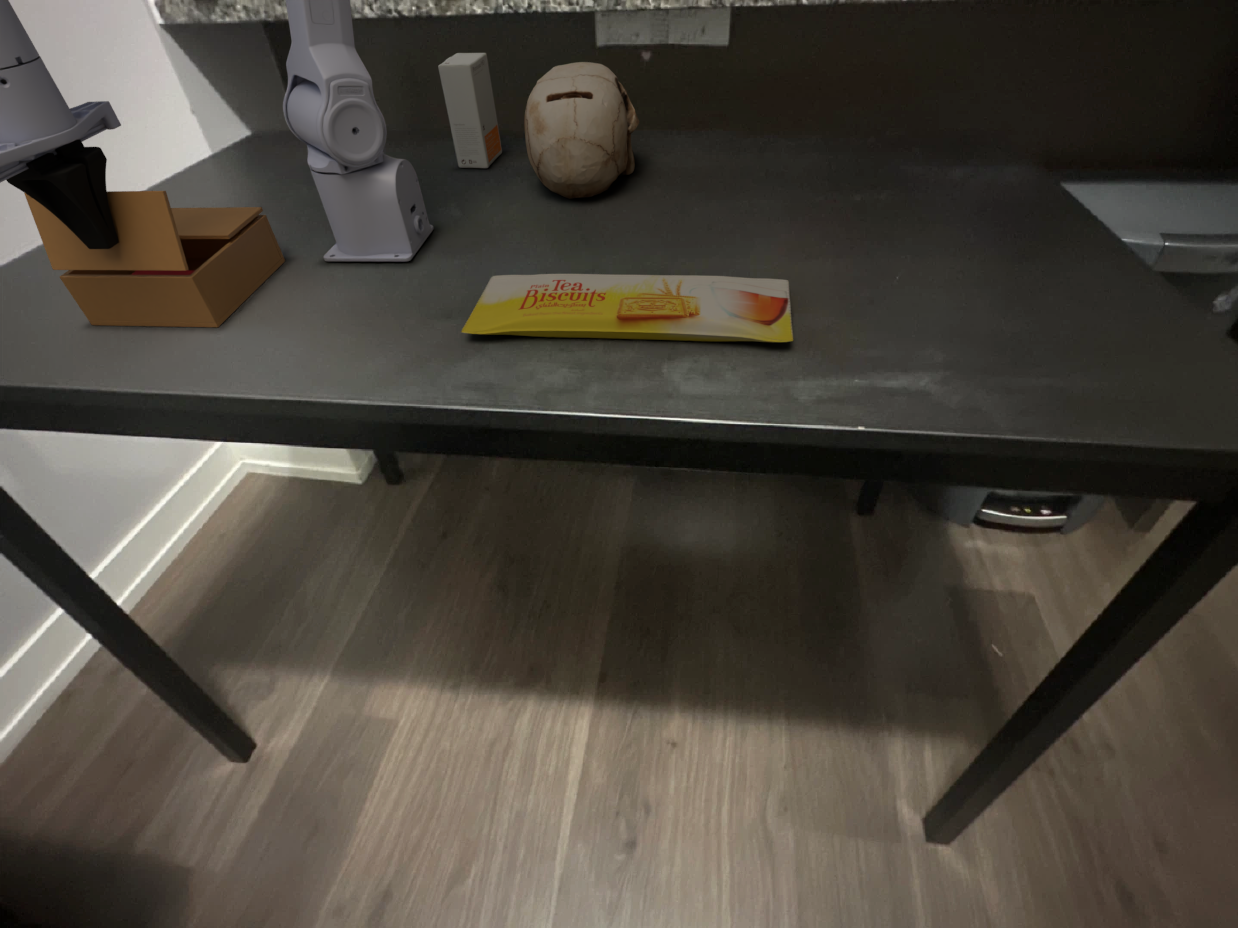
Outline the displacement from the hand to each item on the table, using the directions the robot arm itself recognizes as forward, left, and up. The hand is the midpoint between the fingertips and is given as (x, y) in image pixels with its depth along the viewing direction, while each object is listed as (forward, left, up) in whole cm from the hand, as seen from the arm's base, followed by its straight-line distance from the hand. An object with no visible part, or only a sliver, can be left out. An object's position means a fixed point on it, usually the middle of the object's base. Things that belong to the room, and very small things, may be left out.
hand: (104, 245), depth 58 cm
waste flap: (0, -1, +1) cm, 1 cm away
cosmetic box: (-20, -42, -8) cm, 47 cm away
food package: (-44, -3, -8) cm, 45 cm away
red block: (0, -3, -8) cm, 8 cm away
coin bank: (-35, -36, -8) cm, 51 cm away
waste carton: (0, -7, -8) cm, 10 cm away
